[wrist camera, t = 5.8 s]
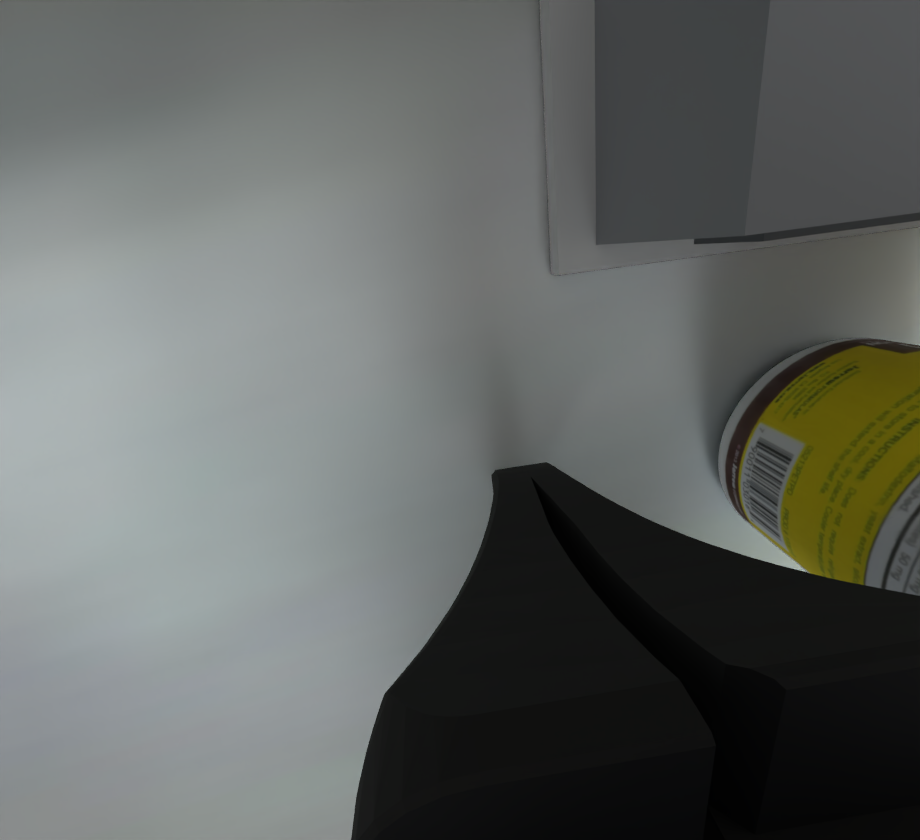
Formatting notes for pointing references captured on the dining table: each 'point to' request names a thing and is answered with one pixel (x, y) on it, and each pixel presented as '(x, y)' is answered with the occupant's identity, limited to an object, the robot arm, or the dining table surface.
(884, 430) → the supplement bottle
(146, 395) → the dining table surface
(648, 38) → the box
